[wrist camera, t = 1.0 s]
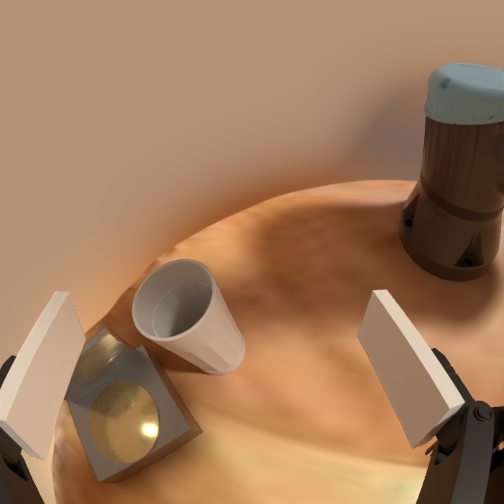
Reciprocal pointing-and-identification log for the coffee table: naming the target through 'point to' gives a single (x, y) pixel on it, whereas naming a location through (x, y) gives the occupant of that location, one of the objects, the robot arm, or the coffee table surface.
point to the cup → (189, 316)
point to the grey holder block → (125, 407)
